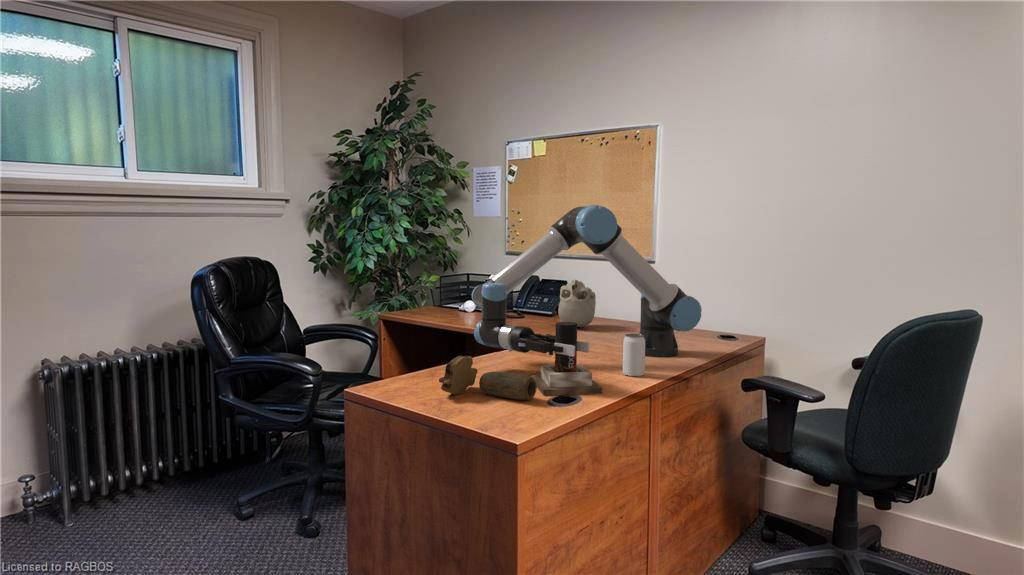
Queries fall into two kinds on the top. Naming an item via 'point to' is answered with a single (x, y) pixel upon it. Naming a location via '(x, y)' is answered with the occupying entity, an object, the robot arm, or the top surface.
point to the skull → (577, 304)
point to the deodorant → (568, 336)
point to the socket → (566, 381)
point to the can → (634, 355)
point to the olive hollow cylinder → (508, 385)
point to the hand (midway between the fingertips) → (581, 349)
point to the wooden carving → (458, 375)
